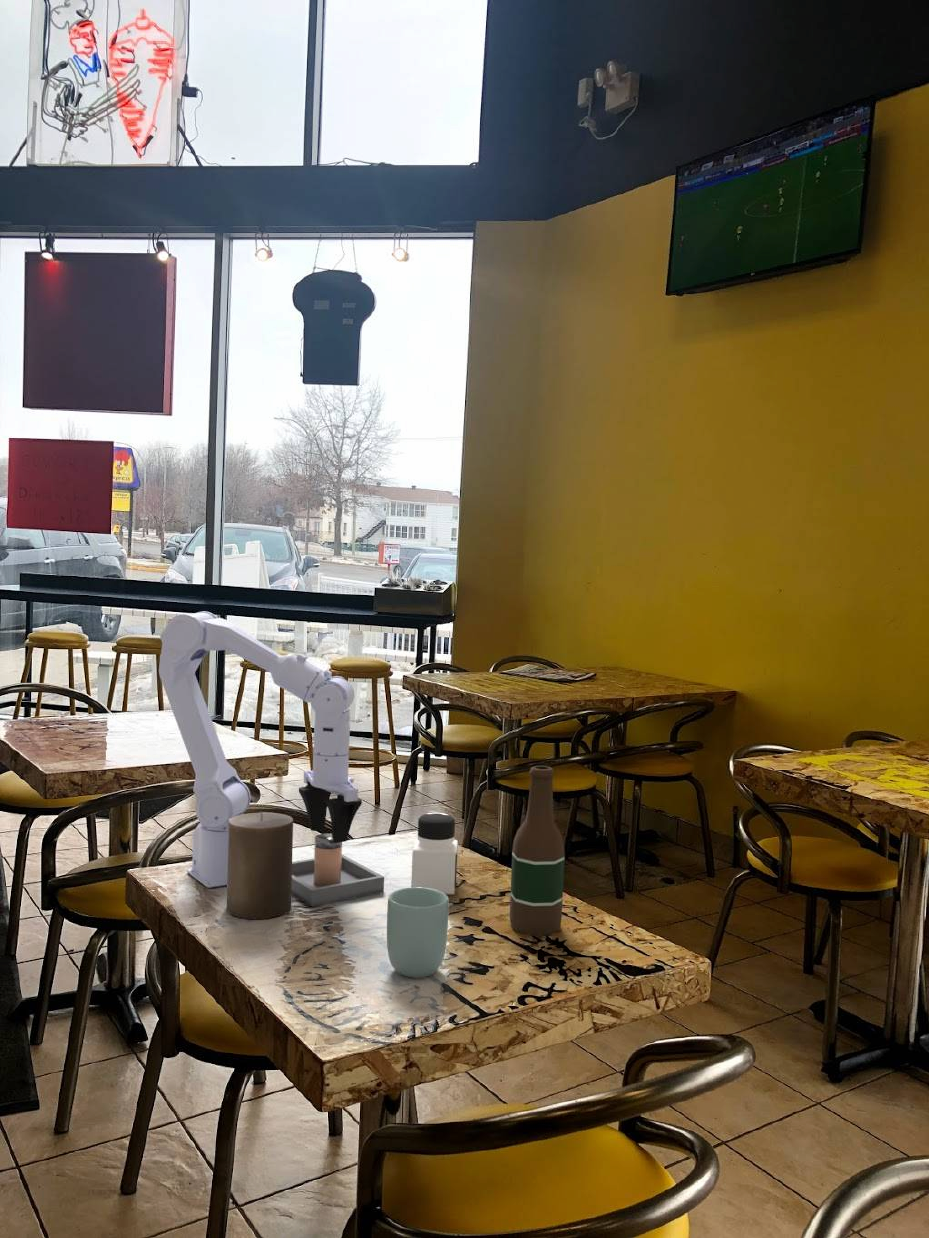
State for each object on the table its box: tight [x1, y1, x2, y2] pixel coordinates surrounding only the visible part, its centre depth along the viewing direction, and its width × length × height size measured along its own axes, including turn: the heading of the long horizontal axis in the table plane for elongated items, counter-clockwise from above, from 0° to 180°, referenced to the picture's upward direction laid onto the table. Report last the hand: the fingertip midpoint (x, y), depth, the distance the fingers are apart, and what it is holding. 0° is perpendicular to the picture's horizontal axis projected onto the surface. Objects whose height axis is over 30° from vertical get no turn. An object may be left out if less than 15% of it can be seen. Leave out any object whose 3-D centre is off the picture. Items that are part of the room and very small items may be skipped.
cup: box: [386, 886, 450, 979], centre depth 130 cm, size 8×8×10 cm
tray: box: [291, 854, 385, 907], centre depth 162 cm, size 14×13×2 cm
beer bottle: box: [509, 765, 566, 937], centre depth 147 cm, size 8×8×24 cm
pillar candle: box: [226, 811, 294, 920], centre depth 151 cm, size 10×10×15 cm
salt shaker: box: [313, 833, 343, 887], centre depth 162 cm, size 4×4×8 cm
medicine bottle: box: [410, 812, 459, 896], centre depth 163 cm, size 7×7×12 cm
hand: (328, 835), depth 161 cm, fingers open, 7 cm apart
